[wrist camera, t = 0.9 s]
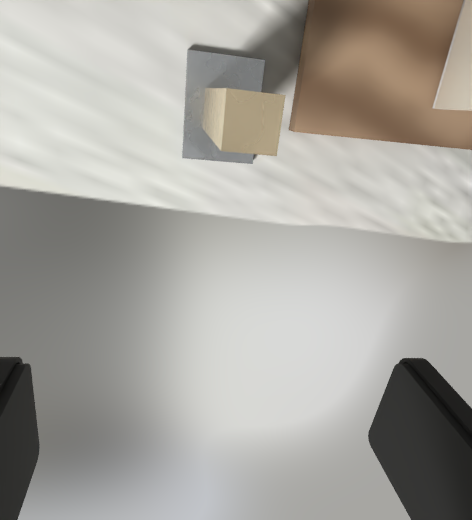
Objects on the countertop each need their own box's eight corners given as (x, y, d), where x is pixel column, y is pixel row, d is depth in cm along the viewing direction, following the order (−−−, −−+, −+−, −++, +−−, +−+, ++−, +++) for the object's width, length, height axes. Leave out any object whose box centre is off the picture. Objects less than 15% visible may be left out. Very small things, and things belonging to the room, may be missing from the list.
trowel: (187, 50, 29) (199, 24, 17) (262, 60, 30) (323, 42, 18) (182, 156, 32) (189, 196, 20) (250, 162, 33) (295, 203, 21)
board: (325, -111, 26) (334, -122, 25) (601, -48, 31) (621, -54, 30) (288, 129, 33) (294, 131, 31) (522, 153, 37) (535, 156, 36)
